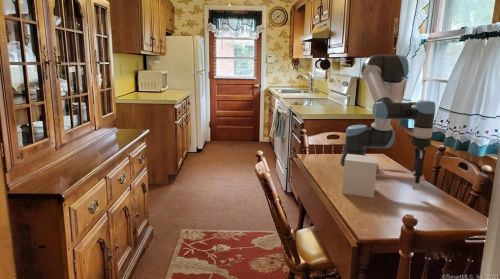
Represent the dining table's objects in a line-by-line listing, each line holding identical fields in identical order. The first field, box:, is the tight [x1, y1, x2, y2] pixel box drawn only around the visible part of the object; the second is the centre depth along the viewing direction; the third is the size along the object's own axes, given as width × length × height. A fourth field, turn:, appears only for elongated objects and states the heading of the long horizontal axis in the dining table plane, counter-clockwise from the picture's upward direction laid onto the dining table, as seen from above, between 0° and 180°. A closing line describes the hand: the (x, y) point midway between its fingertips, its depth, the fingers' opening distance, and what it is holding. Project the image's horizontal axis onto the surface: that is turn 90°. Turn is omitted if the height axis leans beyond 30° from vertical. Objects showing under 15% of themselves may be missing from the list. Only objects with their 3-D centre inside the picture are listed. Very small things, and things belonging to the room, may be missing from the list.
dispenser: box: [341, 154, 379, 198], centre depth 172 cm, size 12×15×16 cm
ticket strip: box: [376, 169, 426, 182], centre depth 167 cm, size 6×24×1 cm, turn 70°
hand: (415, 187), depth 165 cm, fingers closed on ticket strip, 6 cm apart
